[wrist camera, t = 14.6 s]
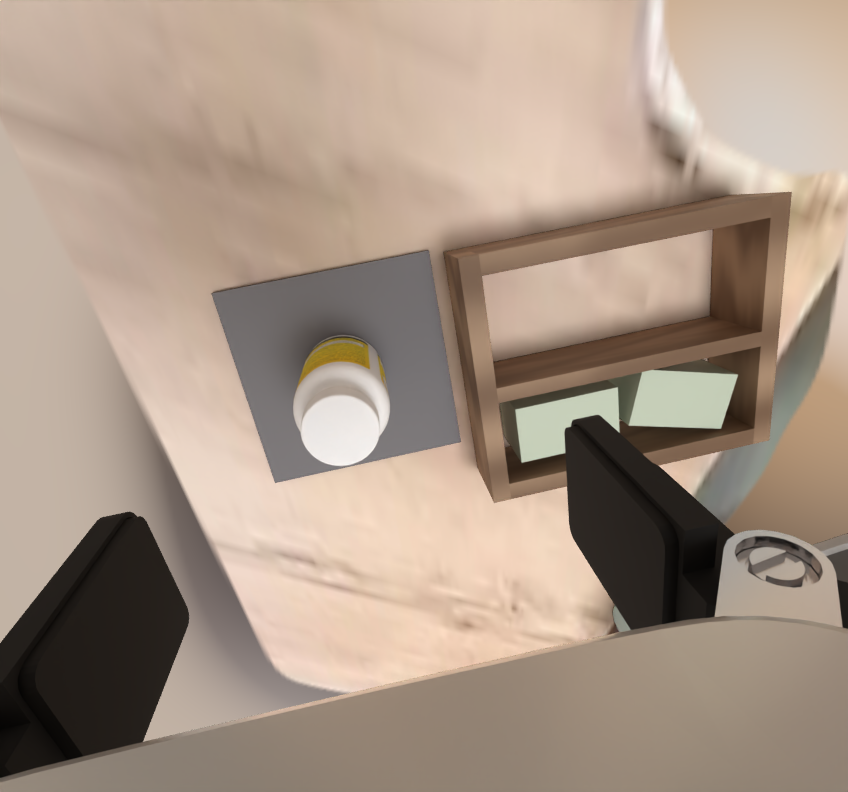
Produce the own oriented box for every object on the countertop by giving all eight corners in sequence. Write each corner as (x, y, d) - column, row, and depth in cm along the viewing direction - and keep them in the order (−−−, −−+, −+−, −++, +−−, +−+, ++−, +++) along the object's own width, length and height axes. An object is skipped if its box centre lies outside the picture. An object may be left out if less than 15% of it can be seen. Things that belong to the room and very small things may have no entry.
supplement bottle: (286, 369, 33) (261, 428, 24) (346, 317, 33) (344, 357, 23) (342, 423, 35) (338, 497, 26) (399, 374, 34) (416, 432, 25)
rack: (443, 252, 32) (458, 258, 28) (731, 194, 33) (791, 192, 29) (477, 467, 38) (494, 502, 34) (720, 413, 39) (769, 440, 35)
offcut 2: (609, 351, 36) (642, 369, 32) (695, 356, 37) (738, 374, 33) (598, 402, 38) (628, 425, 34) (681, 405, 39) (721, 428, 35)
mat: (213, 292, 31) (211, 293, 31) (427, 250, 32) (428, 250, 32) (276, 480, 36) (275, 482, 36) (459, 439, 37) (461, 441, 37)
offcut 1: (497, 386, 36) (515, 409, 32) (588, 367, 37) (617, 387, 32) (503, 434, 38) (521, 462, 34) (591, 415, 38) (619, 440, 34)
